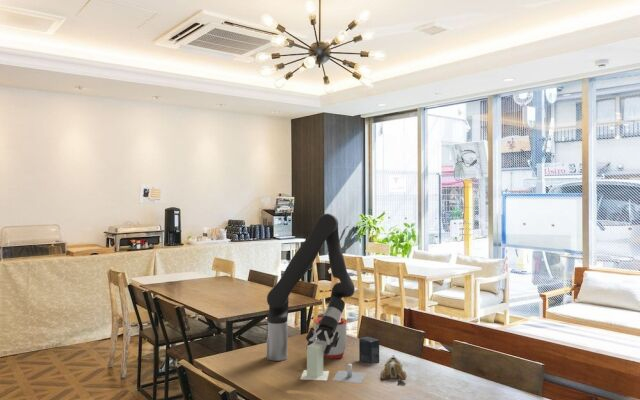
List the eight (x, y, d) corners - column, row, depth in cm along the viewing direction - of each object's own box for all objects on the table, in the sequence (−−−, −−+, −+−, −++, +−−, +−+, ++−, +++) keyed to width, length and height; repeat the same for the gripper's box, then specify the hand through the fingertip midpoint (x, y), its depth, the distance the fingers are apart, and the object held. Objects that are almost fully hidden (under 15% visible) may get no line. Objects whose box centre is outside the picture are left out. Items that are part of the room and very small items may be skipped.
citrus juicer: (354, 353, 238) (354, 312, 238) (336, 363, 223) (336, 319, 223) (327, 348, 246) (327, 308, 246) (307, 357, 232) (308, 315, 232)
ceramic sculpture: (405, 352, 212) (406, 365, 197) (405, 371, 213) (406, 386, 198) (381, 351, 214) (380, 364, 199) (381, 370, 214) (380, 385, 200)
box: (379, 362, 225) (379, 339, 225) (370, 365, 221) (371, 341, 221) (367, 358, 231) (367, 335, 231) (358, 360, 227) (358, 338, 227)
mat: (300, 381, 201) (300, 379, 201) (303, 372, 212) (303, 369, 212) (326, 382, 199) (326, 380, 199) (329, 373, 210) (329, 371, 210)
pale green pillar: (306, 375, 205) (307, 346, 205) (313, 372, 209) (313, 343, 209) (317, 377, 202) (317, 347, 202) (323, 374, 206) (323, 344, 206)
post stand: (332, 382, 200) (332, 367, 200) (339, 372, 211) (339, 358, 211) (360, 385, 197) (361, 370, 197) (366, 375, 208) (366, 361, 208)
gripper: (313, 312, 218) (299, 344, 208) (341, 317, 211) (328, 350, 201) (319, 322, 223) (305, 354, 213) (347, 326, 215) (334, 360, 205)
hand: (316, 352), depth 207 cm, fingers open, 8 cm apart
